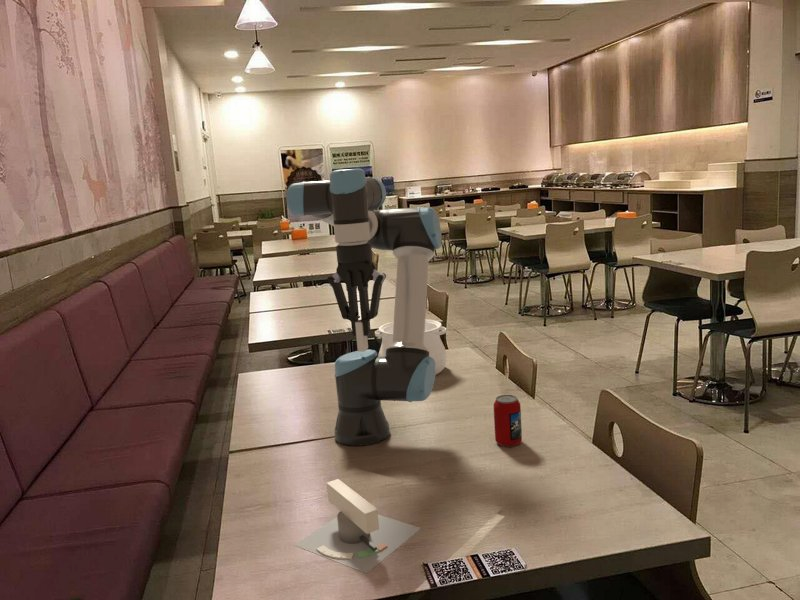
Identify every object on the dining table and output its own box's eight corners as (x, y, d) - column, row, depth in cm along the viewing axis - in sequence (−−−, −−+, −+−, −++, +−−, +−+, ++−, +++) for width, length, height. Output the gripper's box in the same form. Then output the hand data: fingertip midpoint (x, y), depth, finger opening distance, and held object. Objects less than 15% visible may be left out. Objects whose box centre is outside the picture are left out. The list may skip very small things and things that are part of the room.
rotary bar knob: (361, 559, 119) (357, 517, 117) (323, 523, 132) (318, 485, 131) (389, 548, 122) (385, 506, 120) (349, 514, 136) (345, 476, 134)
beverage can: (521, 448, 164) (519, 402, 161) (494, 448, 165) (492, 402, 163) (522, 437, 170) (520, 393, 168) (496, 437, 172) (493, 393, 169)
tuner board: (294, 550, 126) (294, 543, 125) (352, 511, 139) (351, 504, 139) (367, 579, 115) (366, 571, 115) (422, 533, 128) (421, 526, 128)
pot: (371, 383, 225) (367, 336, 222) (384, 362, 249) (381, 319, 246) (445, 381, 221) (442, 333, 218) (451, 361, 244) (449, 317, 241)
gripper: (387, 239, 141) (396, 345, 145) (331, 242, 145) (341, 345, 149) (376, 243, 134) (386, 354, 138) (318, 246, 138) (329, 354, 142)
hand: (363, 349), depth 144 cm, fingers closed
